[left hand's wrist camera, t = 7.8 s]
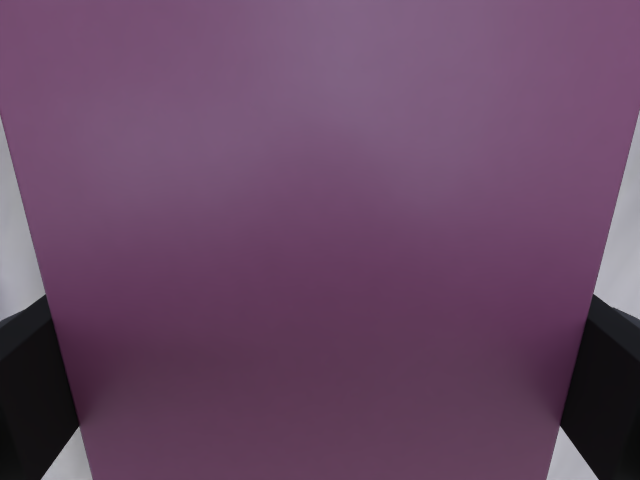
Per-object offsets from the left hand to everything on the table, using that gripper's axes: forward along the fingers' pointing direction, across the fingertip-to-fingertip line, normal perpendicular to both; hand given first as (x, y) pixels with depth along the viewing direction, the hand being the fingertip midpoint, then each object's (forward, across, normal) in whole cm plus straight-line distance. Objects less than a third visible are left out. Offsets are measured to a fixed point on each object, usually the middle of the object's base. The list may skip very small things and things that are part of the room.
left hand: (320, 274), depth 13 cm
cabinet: (+6, 0, -6) cm, 9 cm away
